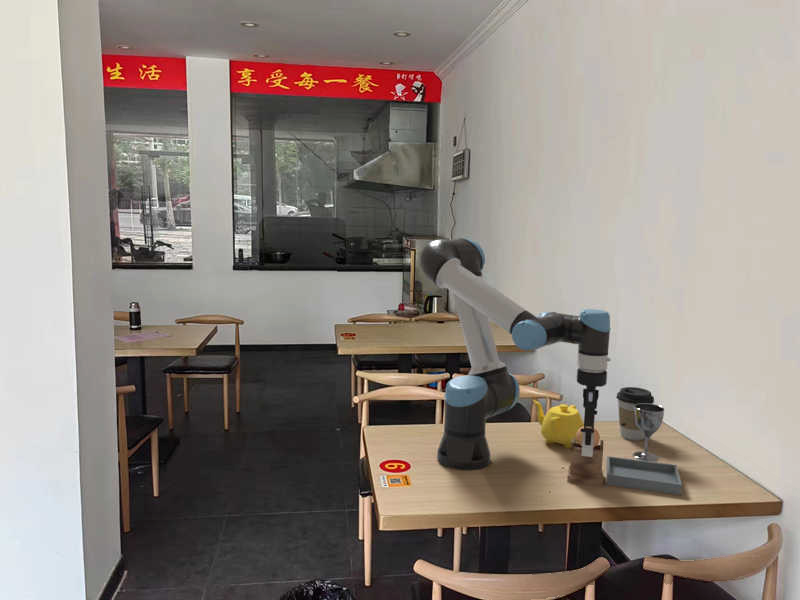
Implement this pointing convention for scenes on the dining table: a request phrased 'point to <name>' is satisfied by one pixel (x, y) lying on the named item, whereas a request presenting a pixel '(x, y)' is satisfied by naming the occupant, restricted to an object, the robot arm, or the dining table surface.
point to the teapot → (559, 423)
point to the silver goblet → (648, 426)
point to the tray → (643, 475)
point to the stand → (586, 465)
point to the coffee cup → (631, 410)
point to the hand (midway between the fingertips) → (587, 446)
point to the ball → (580, 436)
